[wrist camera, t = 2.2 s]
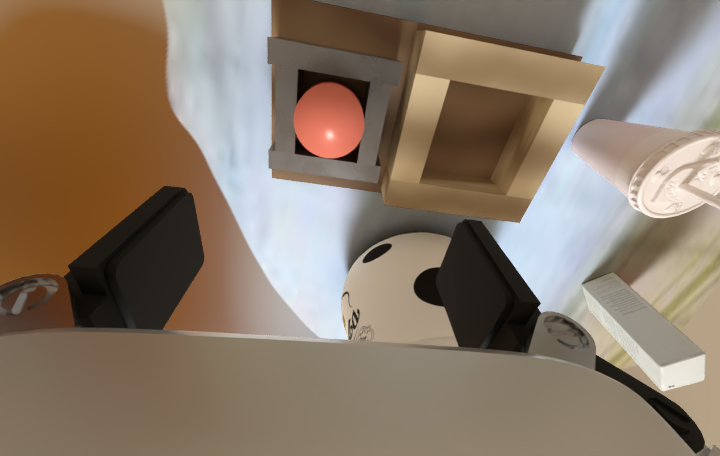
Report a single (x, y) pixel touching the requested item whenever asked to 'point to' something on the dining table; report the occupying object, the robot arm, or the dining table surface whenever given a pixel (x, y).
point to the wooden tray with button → (425, 109)
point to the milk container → (398, 292)
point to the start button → (329, 119)
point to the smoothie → (654, 164)
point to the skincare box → (645, 333)
